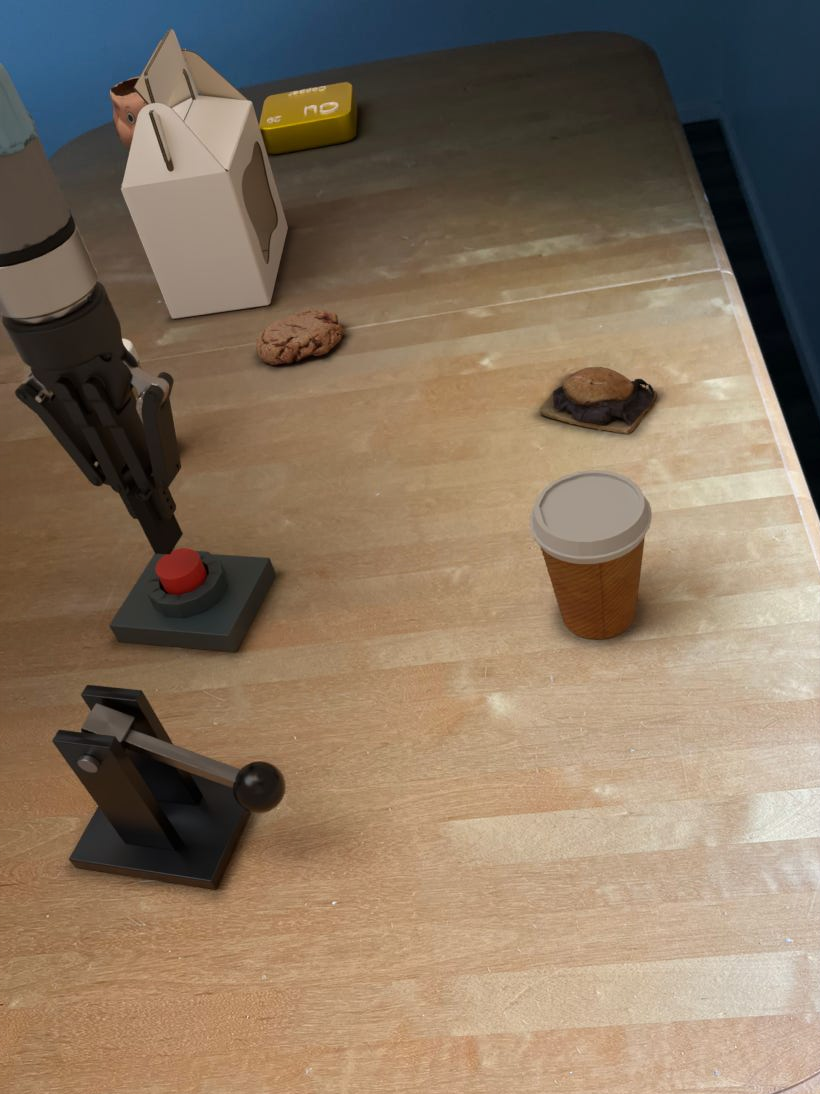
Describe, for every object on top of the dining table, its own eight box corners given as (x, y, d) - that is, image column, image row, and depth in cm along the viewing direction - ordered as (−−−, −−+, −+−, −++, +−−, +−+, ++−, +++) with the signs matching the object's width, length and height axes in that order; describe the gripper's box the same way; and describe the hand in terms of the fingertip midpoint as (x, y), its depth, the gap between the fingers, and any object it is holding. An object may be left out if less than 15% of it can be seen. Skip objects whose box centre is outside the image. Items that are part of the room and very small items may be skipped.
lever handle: (289, 787, 76) (296, 762, 73) (271, 829, 74) (277, 805, 71) (100, 717, 75) (100, 690, 72) (76, 758, 73) (75, 731, 70)
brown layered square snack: (535, 419, 111) (531, 389, 108) (571, 375, 115) (568, 345, 113) (628, 439, 106) (626, 408, 104) (662, 392, 111) (661, 362, 108)
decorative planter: (136, 156, 178) (104, 68, 168) (207, 140, 179) (179, 51, 169) (134, 204, 164) (98, 112, 154) (211, 186, 165) (180, 93, 155)
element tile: (358, 106, 179) (351, 76, 176) (356, 141, 169) (349, 110, 166) (271, 122, 180) (263, 92, 177) (265, 157, 170) (256, 126, 167)
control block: (117, 641, 96) (100, 611, 94) (164, 566, 103) (149, 536, 100) (236, 652, 93) (221, 621, 90) (276, 574, 100) (264, 542, 97)
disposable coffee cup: (563, 567, 95) (550, 460, 86) (667, 583, 91) (665, 474, 83) (527, 643, 89) (510, 536, 80) (637, 663, 86) (631, 554, 77)
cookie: (243, 354, 128) (236, 332, 126) (310, 314, 133) (303, 292, 131) (293, 379, 123) (286, 357, 121) (360, 337, 127) (355, 314, 125)
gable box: (199, 241, 152) (124, 28, 132) (288, 227, 151) (226, 10, 131) (171, 321, 137) (81, 94, 117) (270, 306, 136) (197, 74, 115)
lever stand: (262, 788, 83) (203, 672, 73) (216, 890, 77) (146, 779, 67) (127, 771, 86) (54, 658, 76) (74, 867, 80) (-13, 759, 70)
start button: (156, 593, 95) (147, 577, 93) (175, 563, 97) (167, 546, 96) (195, 596, 94) (188, 580, 92) (213, 565, 96) (206, 549, 95)
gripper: (153, 269, 76) (252, 518, 93) (1, 272, 79) (123, 512, 96) (105, 325, 71) (218, 577, 88) (-55, 326, 75) (84, 568, 92)
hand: (169, 543), depth 92 cm, fingers closed
